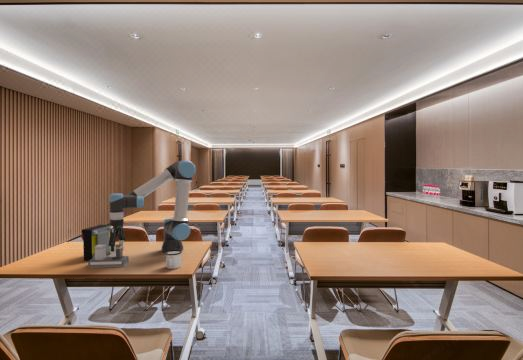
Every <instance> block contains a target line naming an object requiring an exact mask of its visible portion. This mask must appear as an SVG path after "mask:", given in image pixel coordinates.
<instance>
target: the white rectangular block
mask: <svg viewBox="0 0 523 360" xmlns="http://www.w3.org/2000/svg"><path fill="white" fill-rule="evenodd" d="M105 258H106V245H97V246H95V260H104V259H105Z"/></svg>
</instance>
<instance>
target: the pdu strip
mask: <svg viewBox="0 0 523 360" xmlns="http://www.w3.org/2000/svg"><path fill="white" fill-rule="evenodd" d="M129 259H130V258H129V255H123V258H122V259H118V260H112V257H111V255H110V256H109V255H107V256H106V258H105V259H104V260H95V257H94V258H92V259H91V260H89V261H87V262H88V263H87V265H88V268H89V269H90V268H91V269H94V268H121V267H125V266H126V265H127V264H128V263H129Z"/></svg>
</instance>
